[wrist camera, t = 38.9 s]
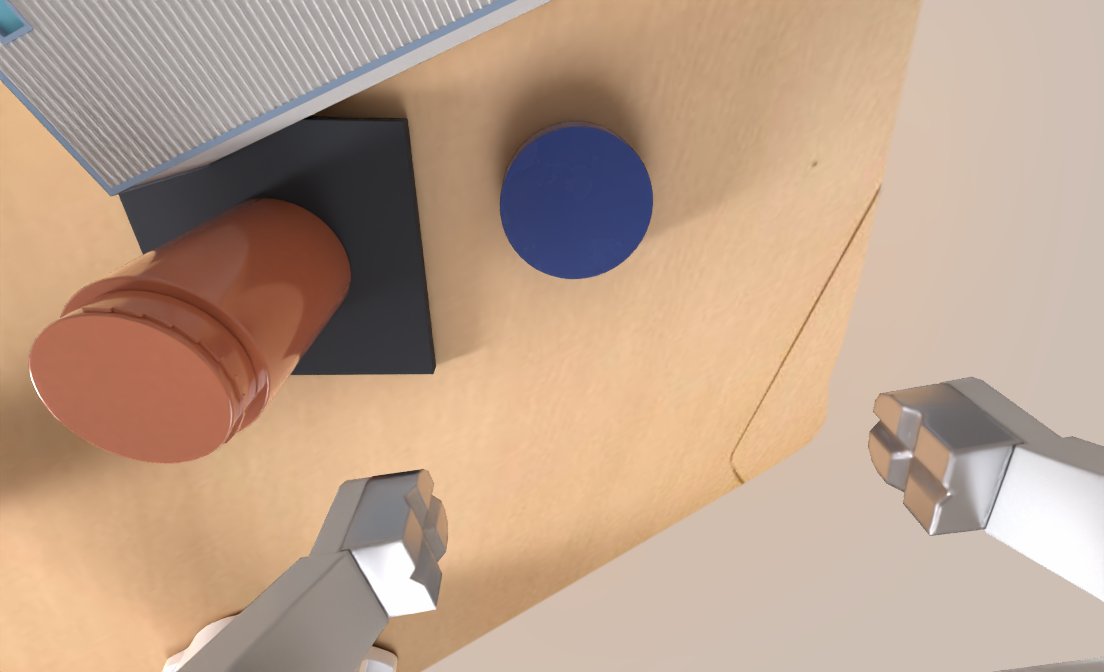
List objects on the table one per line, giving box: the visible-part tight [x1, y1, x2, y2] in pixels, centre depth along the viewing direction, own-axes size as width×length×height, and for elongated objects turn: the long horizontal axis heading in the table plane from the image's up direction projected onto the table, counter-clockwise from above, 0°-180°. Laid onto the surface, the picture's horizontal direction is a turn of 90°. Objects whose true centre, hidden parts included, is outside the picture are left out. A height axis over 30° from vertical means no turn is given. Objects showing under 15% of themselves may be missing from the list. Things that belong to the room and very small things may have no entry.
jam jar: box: [29, 198, 351, 464], centre depth 20 cm, size 6×6×11 cm
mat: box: [119, 117, 436, 375], centre depth 25 cm, size 13×13×1 cm
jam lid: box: [500, 121, 653, 279], centre depth 23 cm, size 7×7×2 cm
